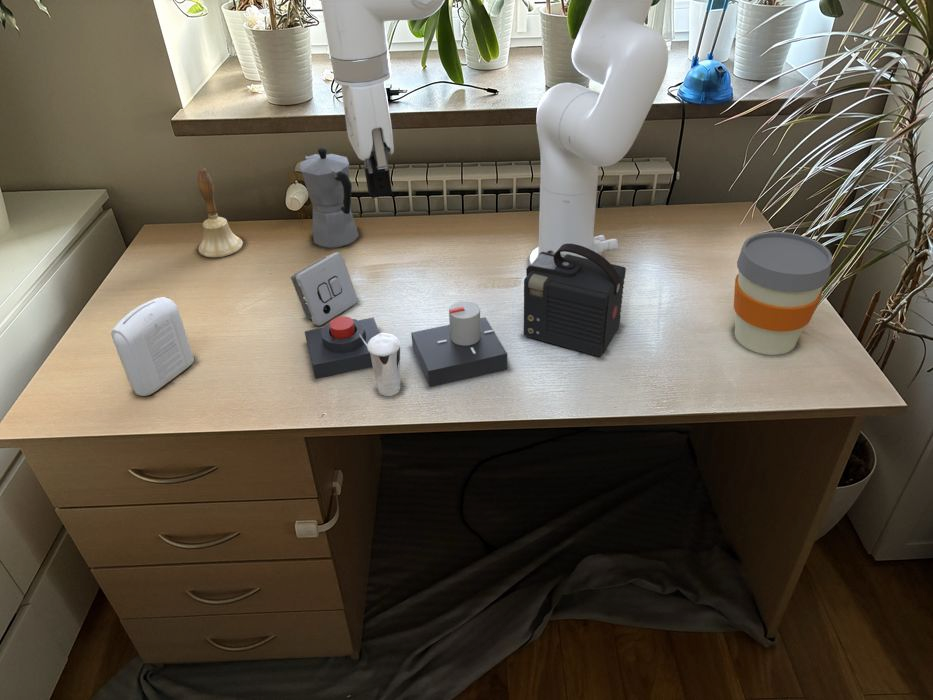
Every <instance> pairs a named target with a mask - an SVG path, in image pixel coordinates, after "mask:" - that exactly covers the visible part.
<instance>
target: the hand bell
mask: <svg viewBox="0 0 933 700" xmlns="http://www.w3.org/2000/svg"><path fill="white" fill-rule="evenodd" d="M197 171H198V172H197V173H198V174H197V186H198V190H199V193H200V195H201V197H202V198H203V200H204V203H205V206H206V210H207V216H208V218H207V219H205V220H204V221H203V222H202V229H203V231H202V232H203V237H202V241H201V242H200V244H199V246H198V253H199V254H200V255H202V256H203V257H206V258H224V257H227V256H230V255H233V254H235V253H237V252H238V251H240V250H241V249H242V247H243V244H244V241H243V239H241V238H240V237H239V236H238V235H236V234H234V232H233V231H232V229H231V228H230V225H229V223H228V220H227V219H226V218H225V217H222V216H219V215H218V210H217V206H216V203H215V187H214V182H213V179H212V177H211V175H210V174H209V173H208V171H207V168H206V167H200V168H198V169H197Z"/></svg>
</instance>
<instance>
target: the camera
mask: <svg viewBox="0 0 933 700" xmlns="http://www.w3.org/2000/svg"><path fill="white" fill-rule="evenodd" d="M560 252H571V253H575V254H578V255H581V256H583V257H585V258H582V257H577V256H573V255H569V254H566V255H564V254H560ZM586 258H587V259H586ZM525 270H526V276H525V277H524V279H523V335H524V336H525V337H528V338H532V339H534V340H539V341H543V342H545V343H548V344H552V345H556V346H559V347H563V348H567V349H571V350H574V351H578V352H582V353H586V354H589V355H593V356H596V357H601V356H602V355H603V354H604V352H606V349H607V347H608V345H609V344H610V343H611V341H612V340H613V337H614V336H615V335H616V332H617V331H618V329H619V328H620V324H621V317H622V316H621V315H622V314H621V312H622V307H623V306H622V303H623V298H624V296H623V293H624V284H625V279H626V271H627V268H626V266H622V265H618V264H613V263H611V262H610V261H608V260H607V259H606V258H605V257H604V256H602V255H601V254H598V253H596V252H594V251H592V250H590V249H588V248H586V247H583V246H580V245H576V244H563V245H562V246H561V247H560V248H559V249H558V250H557V252H556V253H555V252H553V251H551V250H550V251H548V252H547V253H546V252H541V253H539V255H538V257H537V258H536V259H535V261H534V262H533V263H532V264H531V265H530V264H529V265H528V266H527V267H526V269H525Z"/></svg>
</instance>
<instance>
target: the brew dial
mask: <svg viewBox="0 0 933 700" xmlns="http://www.w3.org/2000/svg"><path fill="white" fill-rule="evenodd" d="M480 318H481V307H480V306H479V304H477V303H476V302H473V301H470V300H461V301H456V302H454V303H453V304H451V305H450V307H449V308H448V319H449V320H448V321H449V325H450V338H451V340H452V341H453V342H454V343H455V344H457V345H462V346H468V345H473V344H475V343H477V342H478V341H479V340H480V338H481V323H480Z"/></svg>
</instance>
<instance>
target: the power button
mask: <svg viewBox="0 0 933 700" xmlns="http://www.w3.org/2000/svg"><path fill="white" fill-rule="evenodd" d="M353 319H354V318H352V317H350V316H346V315H341V316H335V317H334V318H332V319H330V322H329V323H330V324H329V325H330V331H331V335H332V337H334V338H337V339H344V338H349V337H351V336H352V335H354V333H355V327H354V321H353Z"/></svg>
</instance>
